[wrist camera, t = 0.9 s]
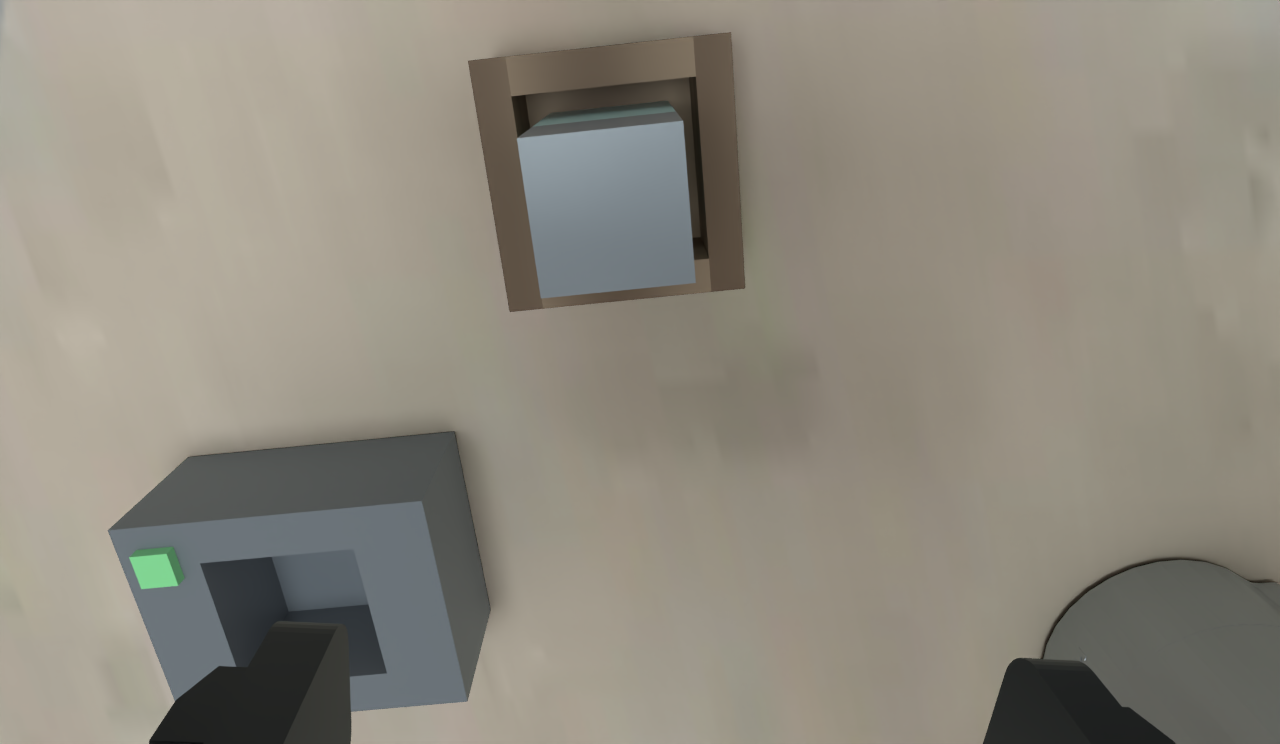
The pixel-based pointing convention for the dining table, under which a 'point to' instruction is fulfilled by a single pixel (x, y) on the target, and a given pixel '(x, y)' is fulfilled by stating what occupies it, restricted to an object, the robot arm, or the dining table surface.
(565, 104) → the wooden box
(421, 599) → the port
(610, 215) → the plug
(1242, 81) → the dining table surface
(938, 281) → the dining table surface
